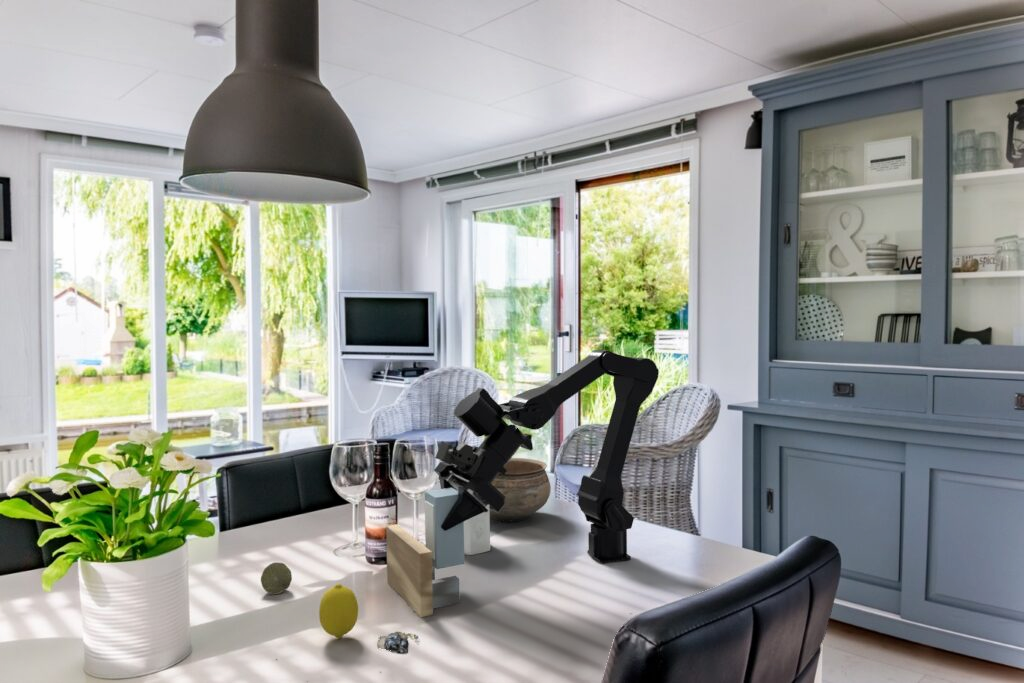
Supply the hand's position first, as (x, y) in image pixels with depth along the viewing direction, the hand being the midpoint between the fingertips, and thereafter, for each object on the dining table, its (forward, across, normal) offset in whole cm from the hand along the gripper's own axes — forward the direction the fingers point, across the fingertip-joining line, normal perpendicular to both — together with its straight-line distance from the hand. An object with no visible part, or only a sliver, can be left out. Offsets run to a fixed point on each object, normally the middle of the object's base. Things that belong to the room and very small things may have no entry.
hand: (436, 525), depth 121 cm
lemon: (+22, +10, -6) cm, 24 cm away
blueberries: (+17, +16, 0) cm, 23 cm away
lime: (+25, -14, -9) cm, 30 cm away
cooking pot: (-14, -33, +30) cm, 47 cm away
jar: (-2, -18, +18) cm, 26 cm away
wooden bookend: (+10, 0, +6) cm, 12 cm away
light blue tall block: (+4, 0, +6) cm, 7 cm away
